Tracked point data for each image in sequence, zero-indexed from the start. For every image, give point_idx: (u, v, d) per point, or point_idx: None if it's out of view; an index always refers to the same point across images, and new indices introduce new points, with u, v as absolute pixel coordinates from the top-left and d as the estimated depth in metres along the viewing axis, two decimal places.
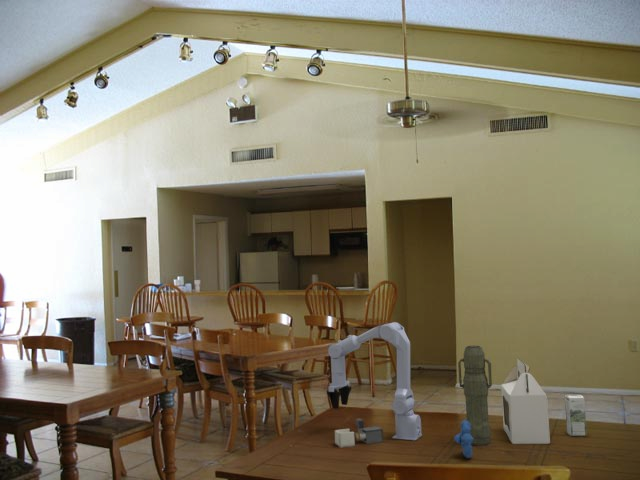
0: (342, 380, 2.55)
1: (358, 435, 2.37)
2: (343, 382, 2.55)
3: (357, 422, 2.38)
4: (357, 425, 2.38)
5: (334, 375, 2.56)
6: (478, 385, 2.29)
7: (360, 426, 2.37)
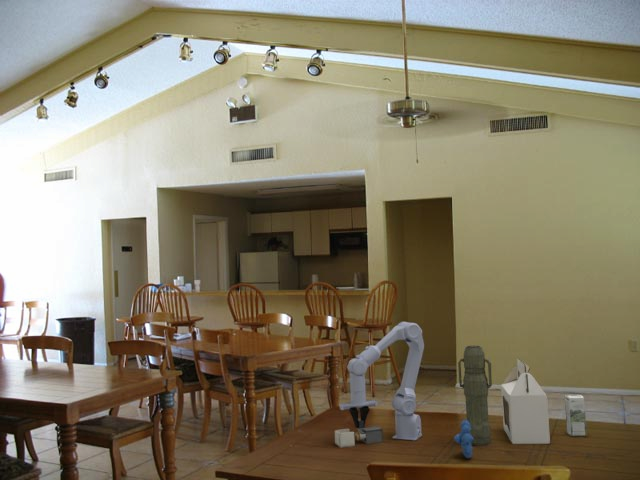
0: (356, 399, 2.37)
1: (358, 435, 2.37)
2: (358, 401, 2.36)
3: None
4: None
5: None
6: (478, 385, 2.29)
7: (360, 426, 2.37)
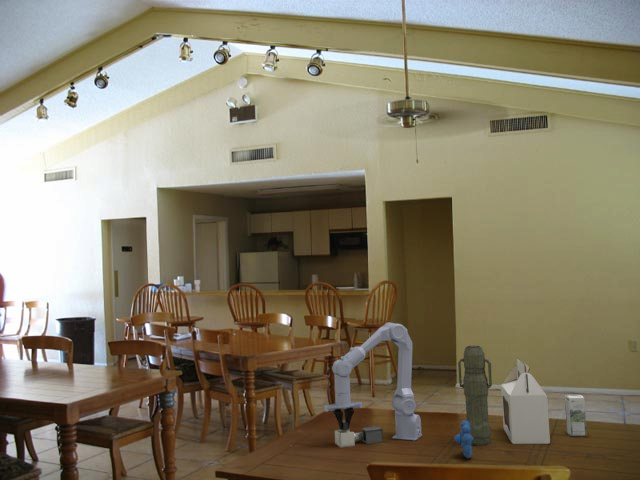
0: (341, 401, 2.35)
1: None
2: (342, 403, 2.35)
3: None
4: None
5: (335, 394, 2.37)
6: (478, 385, 2.29)
7: (344, 428, 2.35)
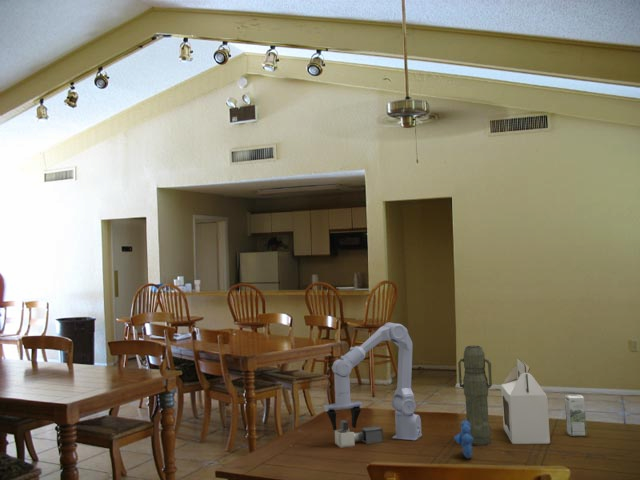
0: (341, 400, 2.35)
1: None
2: (342, 403, 2.35)
3: (341, 424, 2.37)
4: (341, 427, 2.37)
5: (335, 394, 2.37)
6: (478, 385, 2.29)
7: (344, 428, 2.35)
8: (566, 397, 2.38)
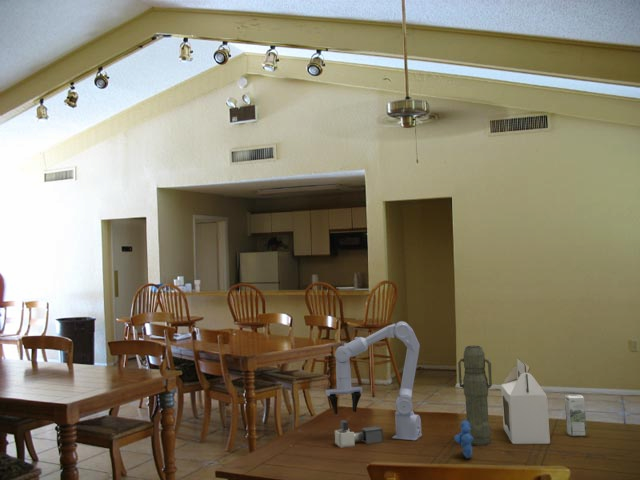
0: (342, 385, 2.44)
1: None
2: (343, 387, 2.44)
3: (341, 424, 2.37)
4: (341, 427, 2.37)
5: (336, 379, 2.47)
6: (478, 385, 2.29)
7: (344, 428, 2.35)
8: (566, 397, 2.38)
